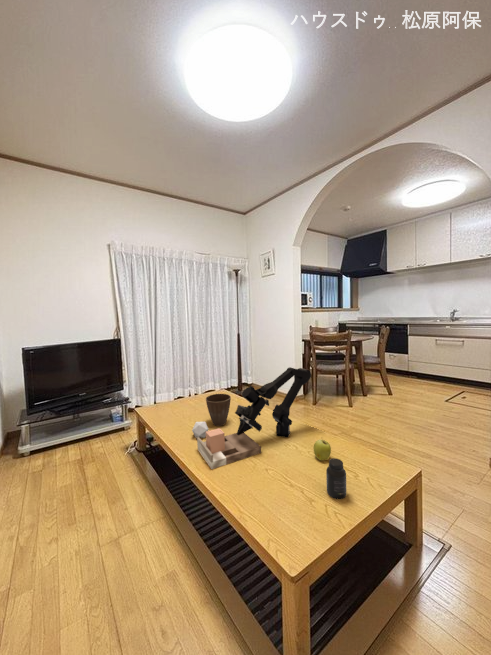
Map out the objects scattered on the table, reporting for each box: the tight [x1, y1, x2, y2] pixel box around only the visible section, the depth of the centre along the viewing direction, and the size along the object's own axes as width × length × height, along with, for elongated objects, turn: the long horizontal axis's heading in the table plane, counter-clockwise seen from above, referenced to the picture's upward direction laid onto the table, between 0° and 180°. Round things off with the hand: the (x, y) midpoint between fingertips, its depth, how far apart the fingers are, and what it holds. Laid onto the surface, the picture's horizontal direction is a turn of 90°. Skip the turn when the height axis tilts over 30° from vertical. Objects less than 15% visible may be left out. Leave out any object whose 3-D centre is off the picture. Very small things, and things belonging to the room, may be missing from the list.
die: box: [191, 421, 209, 439], centre depth 143 cm, size 8×9×10 cm
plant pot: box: [205, 393, 232, 427], centre depth 158 cm, size 15×15×16 cm
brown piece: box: [196, 432, 262, 470], centre depth 127 cm, size 25×19×6 cm
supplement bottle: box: [325, 457, 347, 500], centre depth 95 cm, size 7×7×12 cm
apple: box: [313, 438, 332, 461], centre depth 118 cm, size 8×8×10 cm
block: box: [205, 427, 226, 453], centre depth 123 cm, size 7×6×8 cm
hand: (237, 434), depth 129 cm, fingers closed
